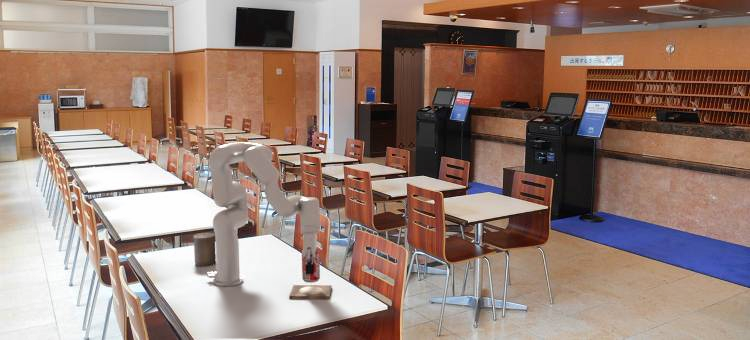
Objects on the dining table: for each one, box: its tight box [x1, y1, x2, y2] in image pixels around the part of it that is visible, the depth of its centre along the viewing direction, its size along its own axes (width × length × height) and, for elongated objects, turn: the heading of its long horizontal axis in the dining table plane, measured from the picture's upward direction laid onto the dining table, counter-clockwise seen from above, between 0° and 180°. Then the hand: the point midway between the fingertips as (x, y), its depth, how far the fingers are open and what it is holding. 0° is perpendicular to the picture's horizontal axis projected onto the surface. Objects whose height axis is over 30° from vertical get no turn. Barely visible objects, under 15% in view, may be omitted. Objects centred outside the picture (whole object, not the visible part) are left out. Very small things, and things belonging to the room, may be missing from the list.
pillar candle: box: [193, 232, 217, 267], centre depth 302 cm, size 10×10×15 cm
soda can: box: [301, 248, 321, 284], centre depth 262 cm, size 7×7×13 cm
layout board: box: [288, 284, 333, 300], centre depth 264 cm, size 16×13×1 cm
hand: (310, 270), depth 262 cm, fingers closed on soda can, 7 cm apart
